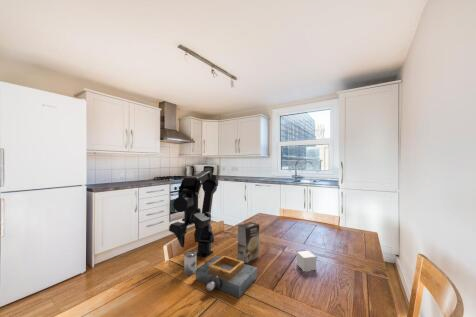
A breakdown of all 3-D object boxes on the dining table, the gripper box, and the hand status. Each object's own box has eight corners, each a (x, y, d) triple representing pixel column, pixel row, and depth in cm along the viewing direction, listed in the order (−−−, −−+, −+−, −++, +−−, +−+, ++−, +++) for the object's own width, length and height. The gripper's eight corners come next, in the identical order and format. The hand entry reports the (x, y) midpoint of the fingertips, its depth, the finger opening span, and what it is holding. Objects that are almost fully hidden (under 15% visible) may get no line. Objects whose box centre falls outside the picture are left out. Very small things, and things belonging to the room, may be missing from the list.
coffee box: (246, 263, 91) (247, 228, 91) (237, 258, 96) (237, 225, 96) (259, 257, 97) (259, 224, 98) (249, 252, 102) (250, 221, 102)
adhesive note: (316, 270, 86) (316, 256, 86) (303, 272, 84) (304, 258, 85) (308, 263, 92) (308, 250, 92) (296, 265, 90) (296, 251, 90)
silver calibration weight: (190, 267, 87) (190, 247, 87) (200, 271, 84) (200, 250, 84) (181, 272, 83) (181, 251, 83) (191, 276, 80) (192, 254, 80)
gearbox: (217, 264, 90) (217, 250, 90) (257, 278, 80) (257, 262, 80) (188, 285, 75) (188, 268, 75) (232, 305, 64) (232, 286, 64)
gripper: (188, 213, 72) (188, 257, 72) (219, 204, 88) (219, 240, 88) (168, 209, 78) (167, 249, 78) (200, 201, 94) (200, 235, 94)
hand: (190, 243), depth 84 cm, fingers open, 9 cm apart
